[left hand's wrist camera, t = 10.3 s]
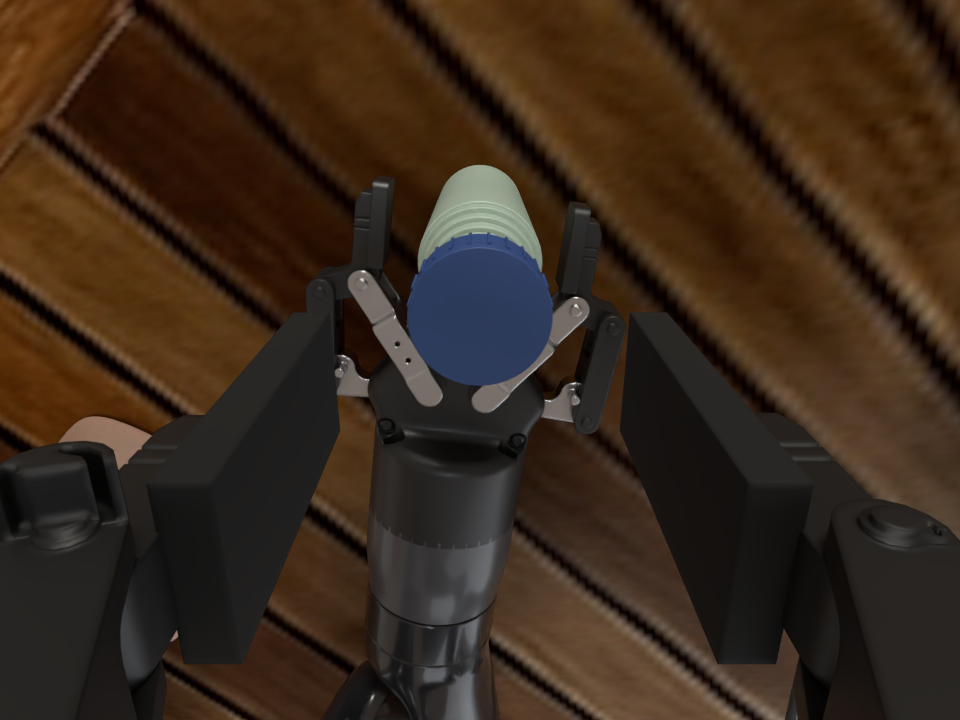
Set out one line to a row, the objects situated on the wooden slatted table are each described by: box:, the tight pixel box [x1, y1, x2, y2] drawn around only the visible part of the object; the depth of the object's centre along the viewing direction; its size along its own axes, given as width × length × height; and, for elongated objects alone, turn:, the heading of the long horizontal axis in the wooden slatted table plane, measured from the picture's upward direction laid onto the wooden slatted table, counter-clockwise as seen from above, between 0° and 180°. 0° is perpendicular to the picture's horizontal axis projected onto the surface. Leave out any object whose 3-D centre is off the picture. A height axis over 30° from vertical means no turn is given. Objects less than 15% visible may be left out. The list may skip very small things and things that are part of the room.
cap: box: [407, 232, 553, 386], centre depth 18 cm, size 4×4×2 cm
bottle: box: [418, 165, 542, 272], centre depth 27 cm, size 4×4×18 cm
